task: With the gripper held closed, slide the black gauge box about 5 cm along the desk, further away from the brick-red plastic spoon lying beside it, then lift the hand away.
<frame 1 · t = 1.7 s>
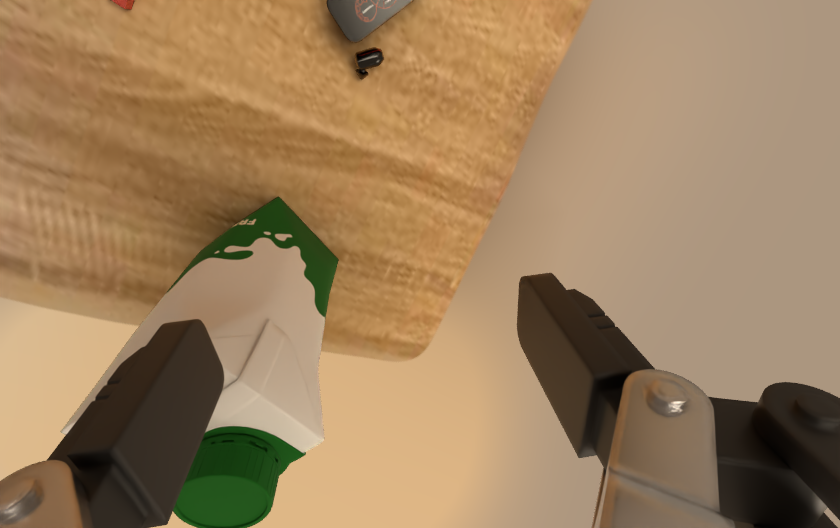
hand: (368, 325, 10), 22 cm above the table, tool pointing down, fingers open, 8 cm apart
black gauge box: (377, 14, 26), on the table
milk carton: (278, 250, 33), on the table
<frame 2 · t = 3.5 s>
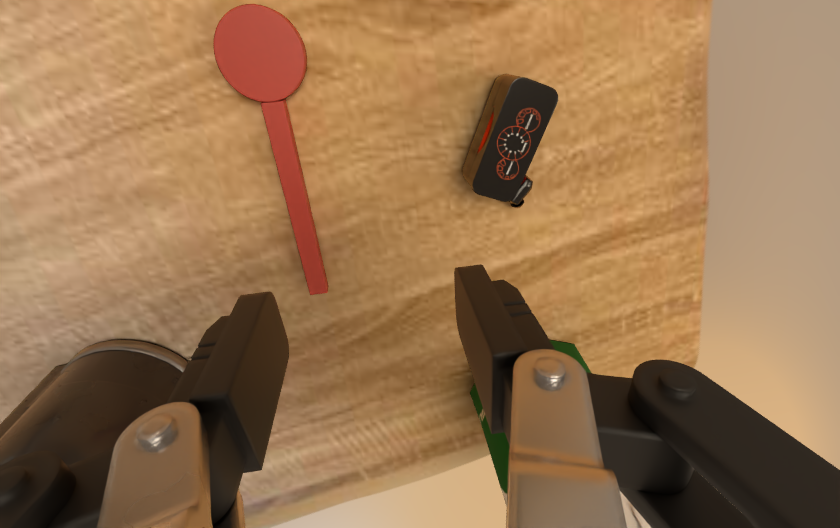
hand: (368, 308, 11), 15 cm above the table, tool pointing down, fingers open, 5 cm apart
black gauge box: (501, 147, 25), on the table
spoon: (287, 154, 23), on the table
milk carton: (519, 366, 34), on the table
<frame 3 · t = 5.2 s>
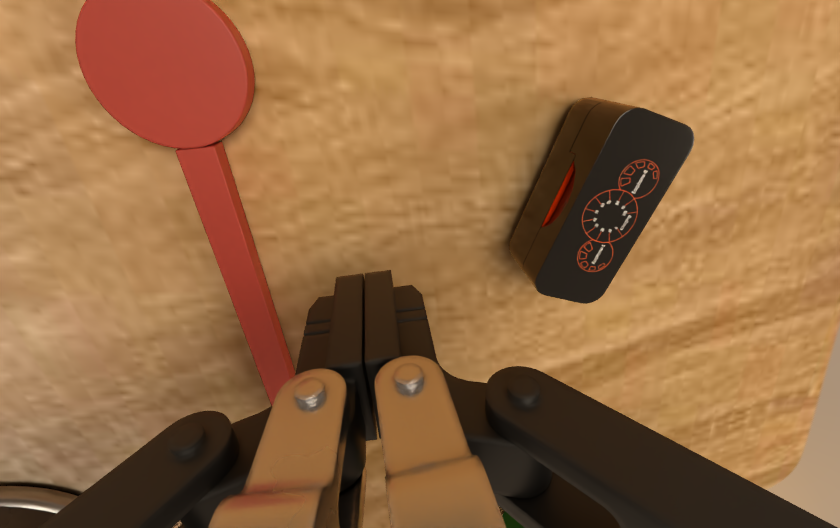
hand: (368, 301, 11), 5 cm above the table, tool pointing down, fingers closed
black gauge box: (568, 206, 16), on the table
spoon: (231, 226, 14), on the table
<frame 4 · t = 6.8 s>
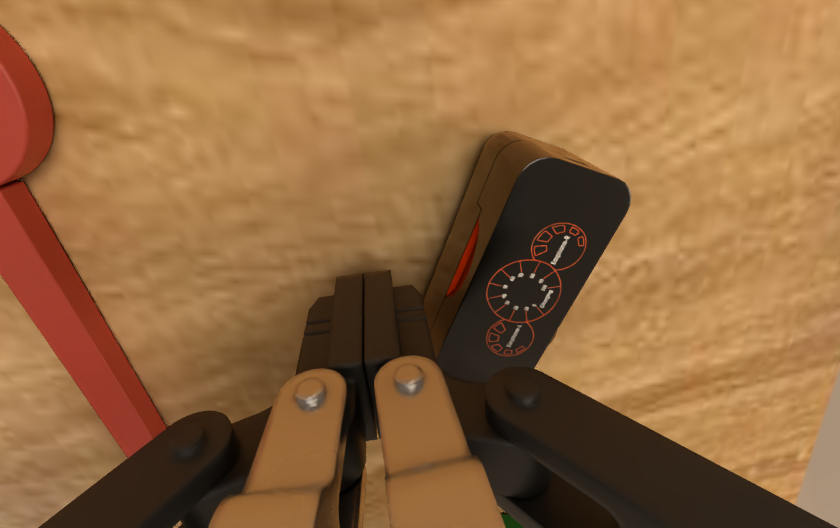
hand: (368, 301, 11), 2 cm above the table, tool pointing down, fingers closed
black gauge box: (498, 259, 13), on the table, touching gripper
spoon: (60, 282, 12), on the table
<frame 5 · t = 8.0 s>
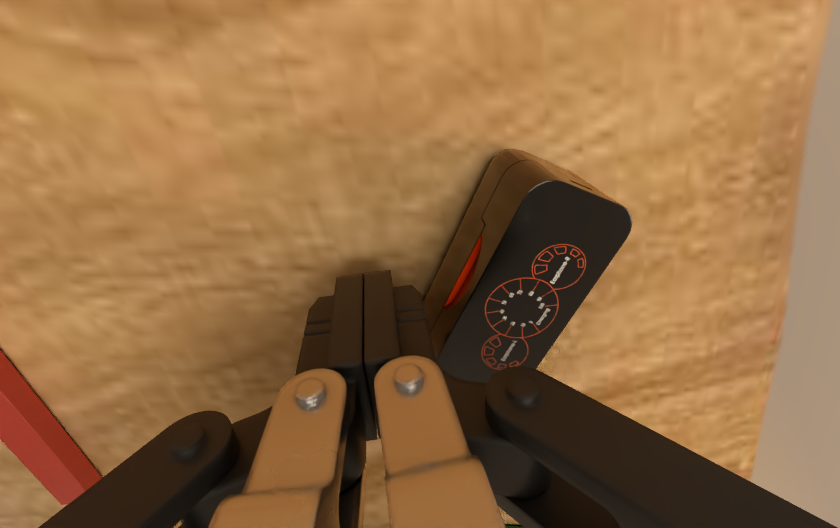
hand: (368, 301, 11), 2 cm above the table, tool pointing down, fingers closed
black gauge box: (496, 271, 13), on the table, touching gripper
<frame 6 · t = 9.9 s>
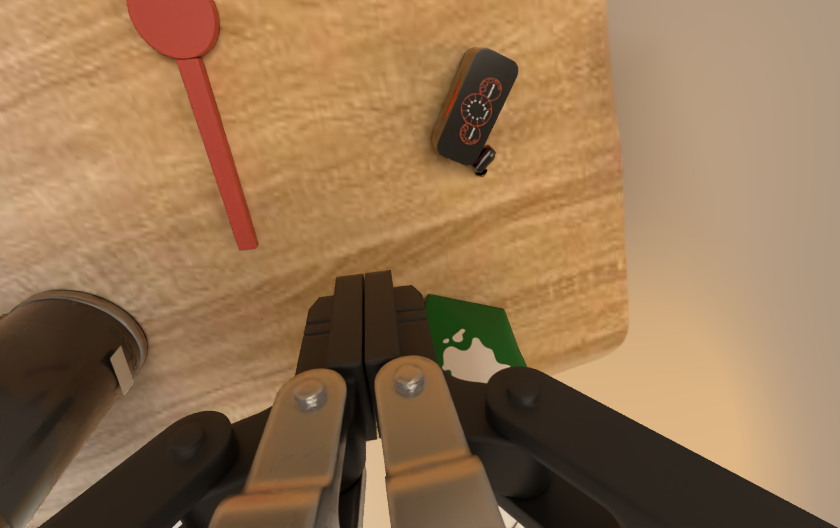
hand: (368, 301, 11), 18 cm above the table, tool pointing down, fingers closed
black gauge box: (469, 118, 27), on the table
spoon: (208, 112, 25), on the table
milk carton: (452, 330, 36), on the table
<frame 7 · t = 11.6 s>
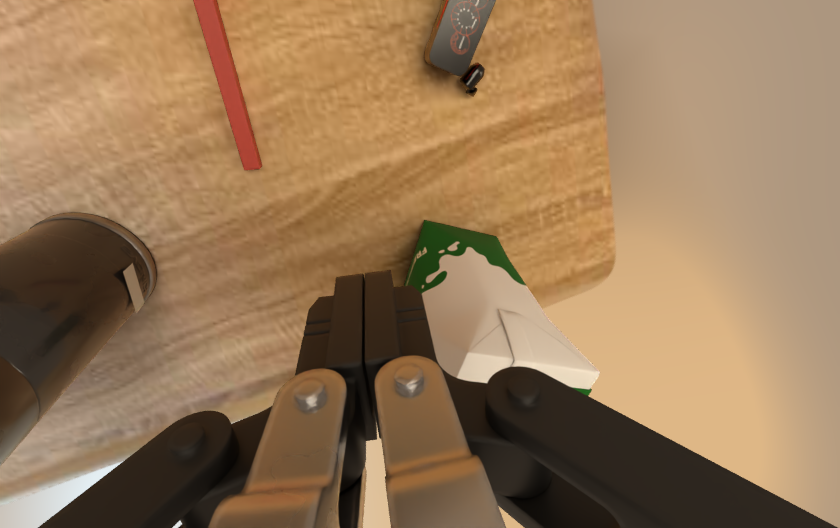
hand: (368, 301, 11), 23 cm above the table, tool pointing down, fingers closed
black gauge box: (459, 37, 29), on the table
spoon: (215, 28, 27), on the table
milk carton: (448, 259, 38), on the table
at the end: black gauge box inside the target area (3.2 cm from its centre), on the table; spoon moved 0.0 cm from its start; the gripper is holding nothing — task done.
